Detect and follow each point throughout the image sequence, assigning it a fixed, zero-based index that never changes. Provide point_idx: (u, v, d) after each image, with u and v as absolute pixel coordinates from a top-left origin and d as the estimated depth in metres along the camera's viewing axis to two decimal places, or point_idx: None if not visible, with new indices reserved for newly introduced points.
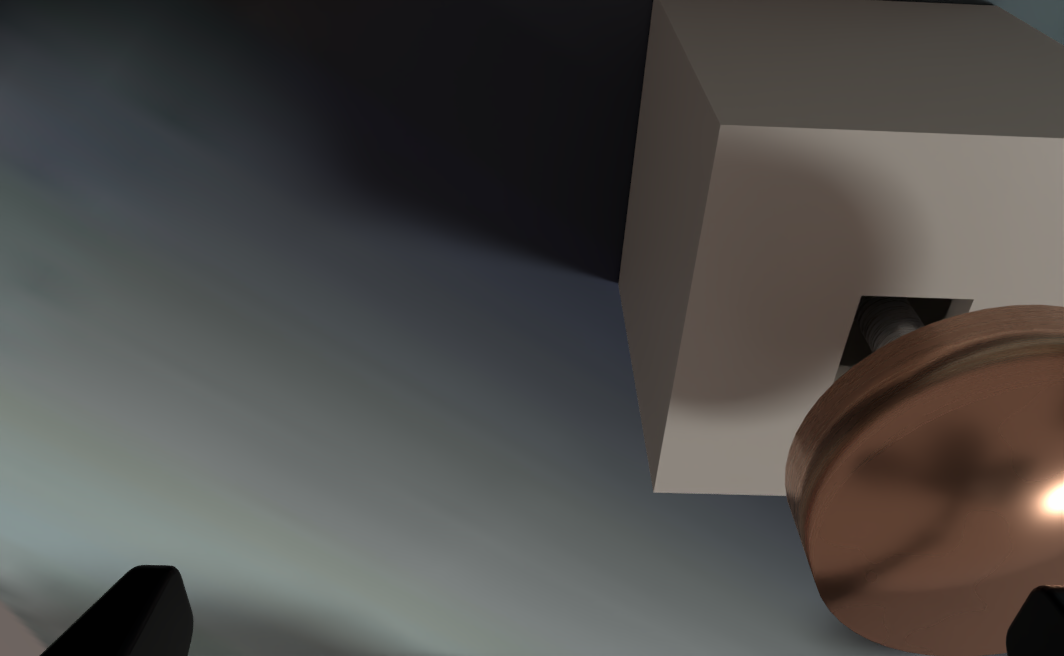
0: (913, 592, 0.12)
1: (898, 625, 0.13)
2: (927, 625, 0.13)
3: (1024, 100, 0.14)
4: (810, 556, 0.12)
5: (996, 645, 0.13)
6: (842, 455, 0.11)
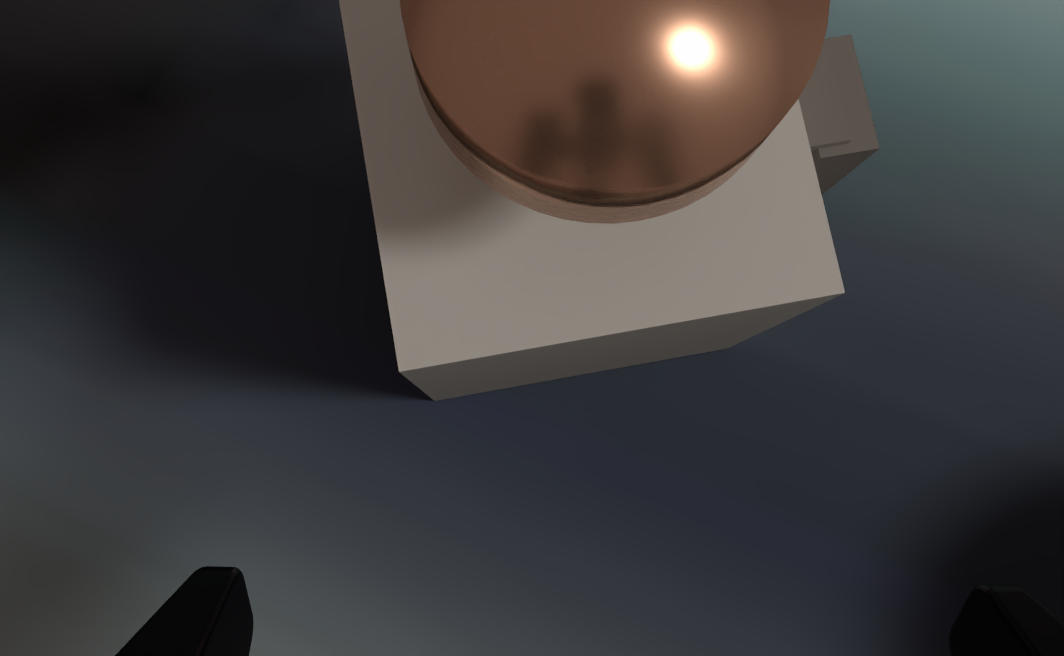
0: (549, 82, 0.11)
1: (563, 142, 0.11)
2: (597, 135, 0.11)
3: None
4: (416, 65, 0.11)
5: (701, 155, 0.11)
6: None
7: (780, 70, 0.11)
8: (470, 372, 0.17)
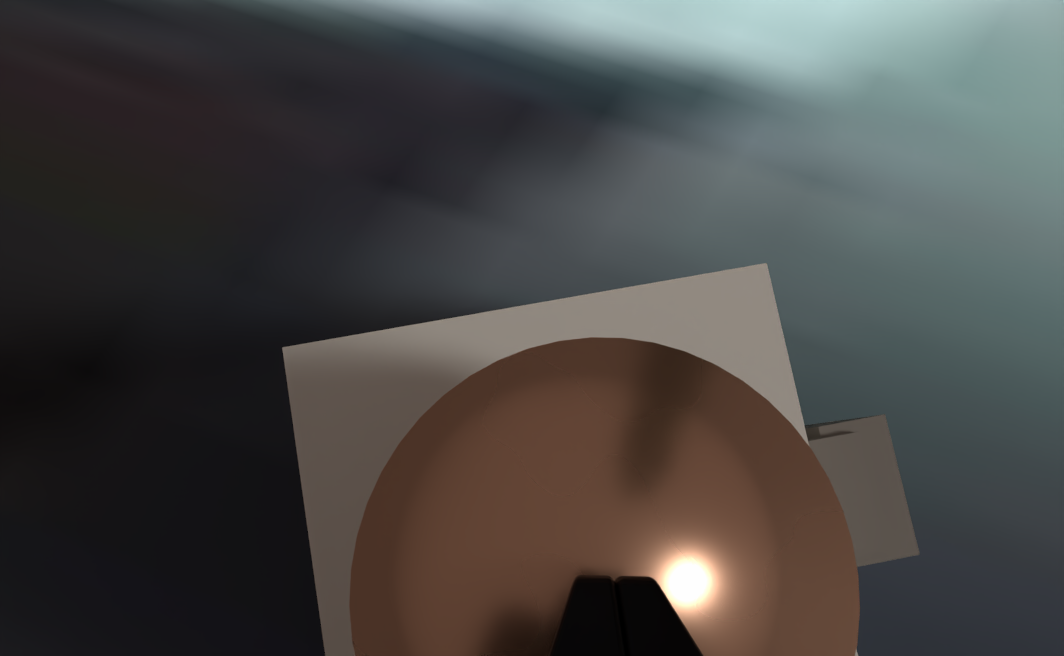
0: None
1: None
2: None
3: None
4: None
5: None
6: None
7: None
8: None
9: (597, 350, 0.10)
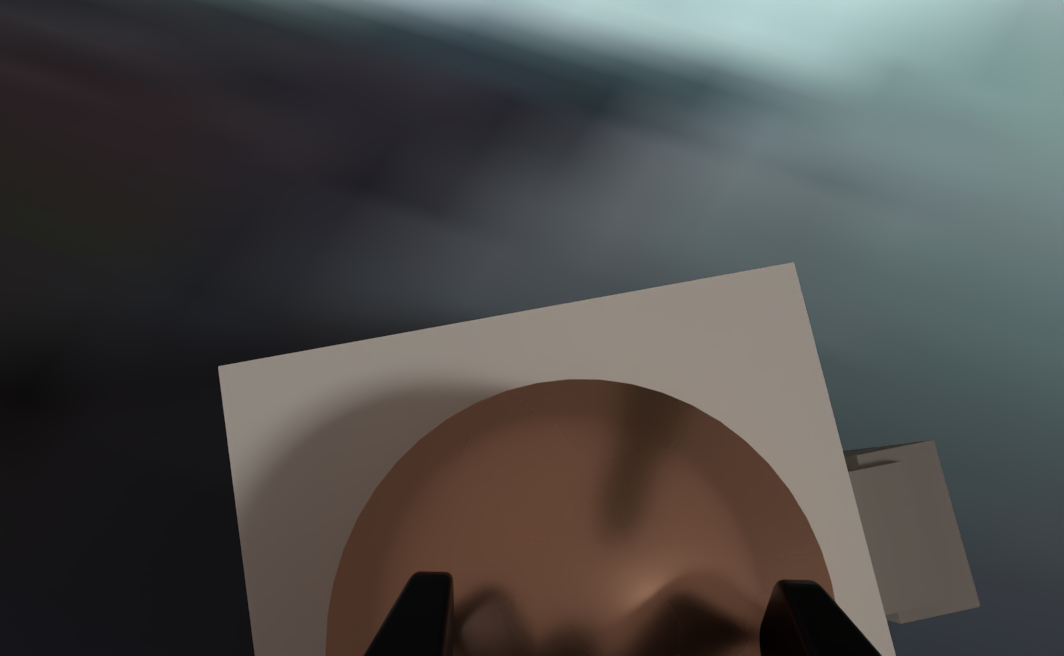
0: None
1: None
2: None
3: None
4: None
5: None
6: None
7: None
8: None
9: (574, 392, 0.10)
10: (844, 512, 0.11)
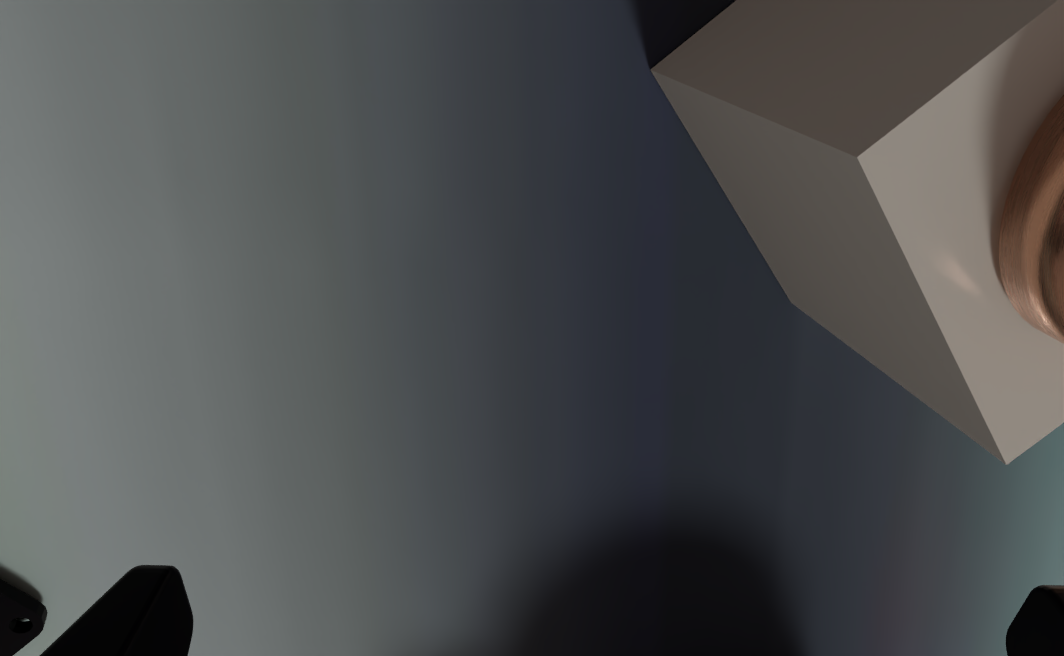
0: None
1: None
2: None
3: None
4: None
5: None
6: None
7: None
8: (806, 174, 0.15)
9: None
10: None
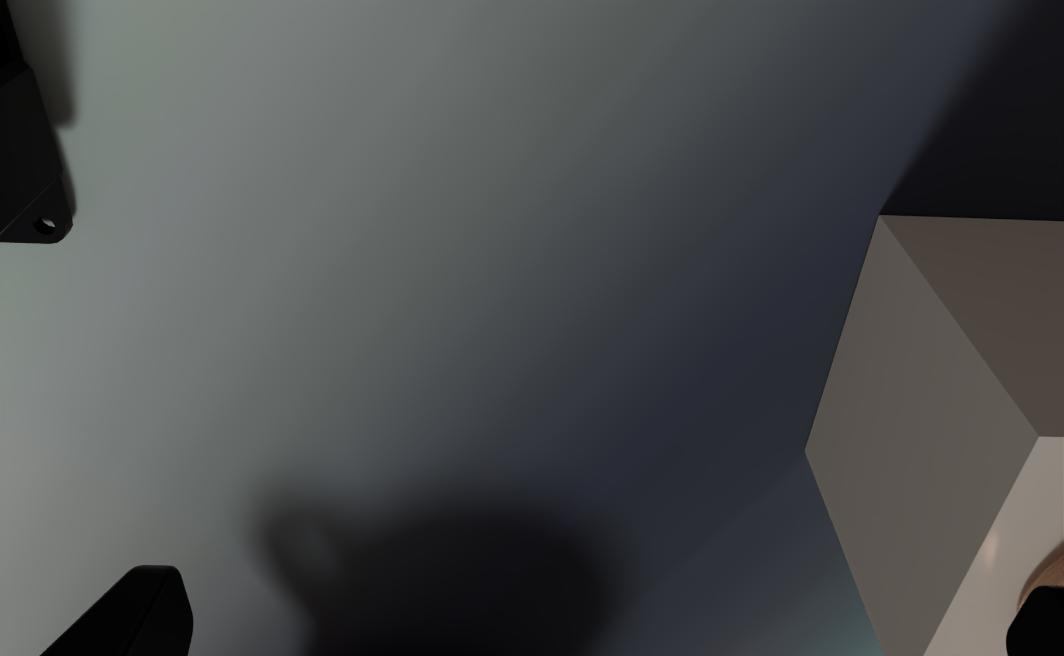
0: None
1: None
2: None
3: None
4: None
5: None
6: None
7: None
8: (960, 402, 0.17)
9: None
10: None
